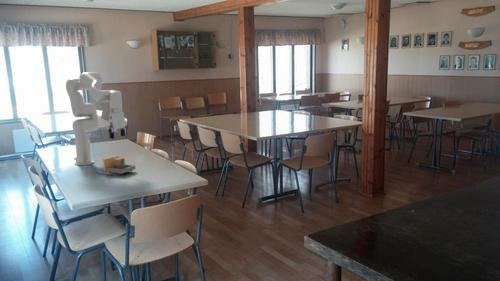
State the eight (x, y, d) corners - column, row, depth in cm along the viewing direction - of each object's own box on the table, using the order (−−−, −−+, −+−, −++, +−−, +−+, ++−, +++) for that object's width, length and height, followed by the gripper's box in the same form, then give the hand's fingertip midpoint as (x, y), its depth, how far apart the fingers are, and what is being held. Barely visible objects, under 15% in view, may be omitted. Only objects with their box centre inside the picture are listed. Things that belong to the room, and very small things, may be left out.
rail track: (96, 172, 263) (96, 172, 262) (108, 169, 272) (108, 168, 272) (124, 176, 253) (124, 175, 253) (135, 172, 263) (135, 171, 263)
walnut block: (119, 170, 258) (118, 159, 256) (113, 169, 260) (112, 159, 259) (125, 168, 262) (124, 158, 261) (119, 168, 264) (118, 157, 263)
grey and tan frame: (104, 173, 258) (103, 159, 256) (118, 168, 270) (117, 155, 268) (121, 175, 252) (120, 161, 251) (135, 170, 264) (134, 157, 262)
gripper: (110, 112, 249) (112, 139, 252) (130, 109, 264) (131, 135, 267) (101, 111, 252) (103, 138, 255) (121, 109, 267) (122, 134, 271)
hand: (117, 137), depth 261 cm, fingers open, 9 cm apart
